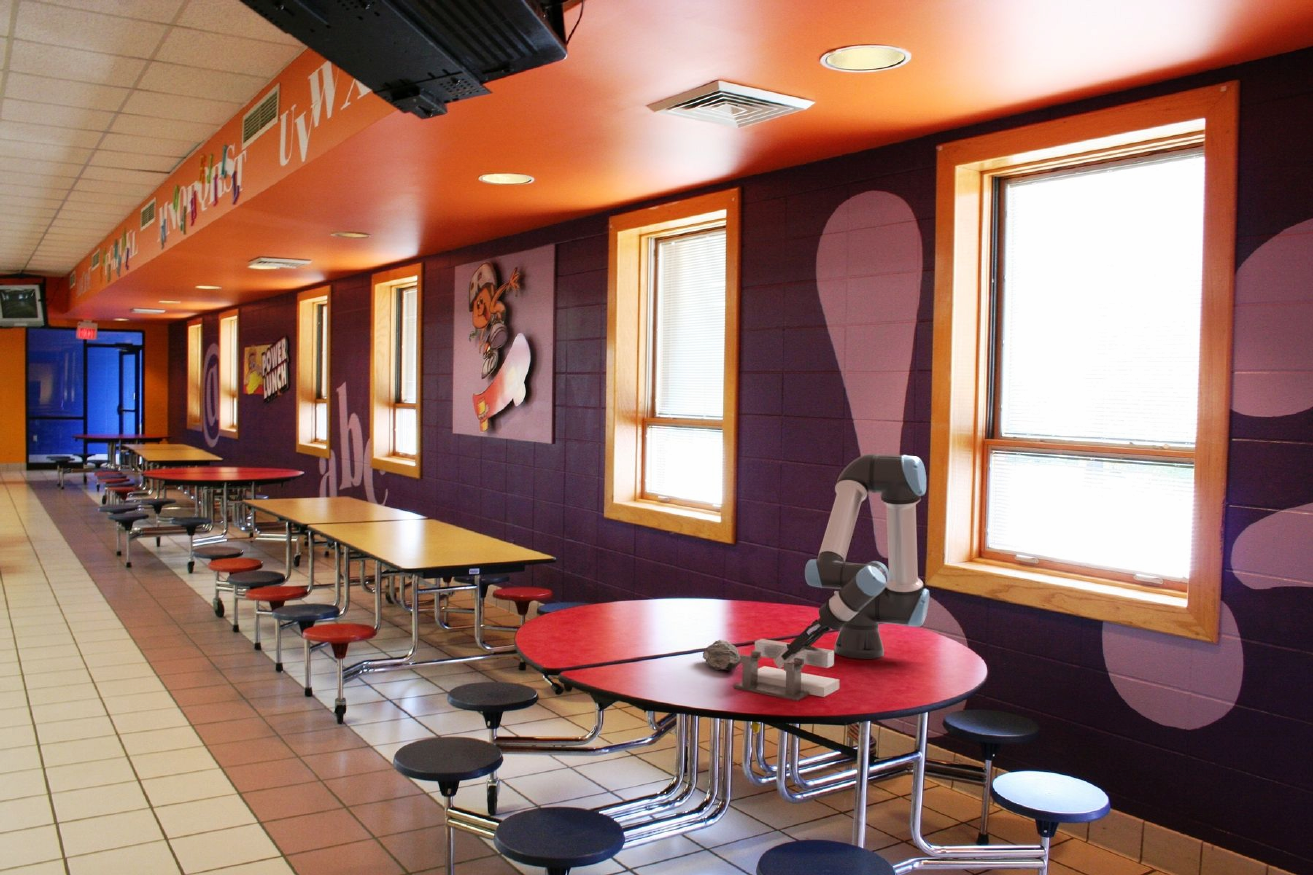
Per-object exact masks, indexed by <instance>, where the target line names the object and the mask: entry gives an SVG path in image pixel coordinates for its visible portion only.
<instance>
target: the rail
mask: <svg viewBox="0 0 1313 875" xmlns="http://www.w3.org/2000/svg"><path fill="white" fill-rule="evenodd" d="M787 644H790V642H784V641H779V640H778V641H777V640H771V639H765V638H760V639H758V640H757V639H756V640H755V641H754V651H758V652H761V657H762V658H767V659H773V660H775V659H776V658H777V657H778V656H779V655H780V654H781V653H782V652H783V651H785V650H786V649H787ZM794 658H799V659H804V665H806V666H807V665H809V666H813V667H819V668H823V669H824V668H826V669H828V668H830V667H833V666H834V665H835V649H826V648H821V647H815V646H814V647H813V646H811V647H810V646H804V647H803V648H801V649H800V650H799V651H798V652H797V653H796V655H795V656H794V657H792V658H791V659H790V660H789V662H791V663H794Z"/></svg>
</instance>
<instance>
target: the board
mask: <svg viewBox="0 0 1313 875" xmlns="http://www.w3.org/2000/svg"><path fill="white" fill-rule="evenodd" d="M757 682H761V683H766V684H771V685H776V686H782V687H786V671H784V668H780V669H779V668H778V667H777V668H776V667H770V666H765V665H763V666H762V667H758V681H757ZM839 689H840V679H839V678H838V679H837V678H832V677H826V676H821V675H815V674H809V673H805V672H801V690H803V691H808V692H809V695H813V696H817V697H822V698H824V697H826V696H828V695H830V694H833V693H834V692H836V691H837V690H839Z"/></svg>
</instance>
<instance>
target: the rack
mask: <svg viewBox="0 0 1313 875" xmlns="http://www.w3.org/2000/svg"><path fill="white" fill-rule="evenodd" d="M759 660H761V652H758V651H755V650H751V651H750V655H748V654H747V655H746V654H740V664H742V676H741V677H742V681H740V682H738V683H735V684H734V685H733V689H738V690H742V691H745V692H746V691H747V692H753V693H757V694H761V695H762V694H763V695H767V696H771V697H776V698H781V699H786V700H792V701H796V702H797V701H800V700H802V699H804V698H805V697H808V696H809V695H810V694H809V692H808V691H803V690H801V673H802V668H804V666H805V664H804V659H799V658H794V662H791V663H787V662H785V663H784V666H783V670H784V671H786V687H782V686H776V685H771V684H766V683H761V682H757V681H758V669H759Z"/></svg>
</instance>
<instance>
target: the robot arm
mask: <svg viewBox="0 0 1313 875" xmlns="http://www.w3.org/2000/svg"><path fill="white" fill-rule="evenodd" d="M925 468H926V467H925V465H924V462H923V461H922V459H921V458H920V457H919V456H914V455H907V454H875V453H870V454H864V455H861V456H859V457H857V458H856V459H854V460H853V461H851V462H850V463H849V464H848V465H846V467H845V468H844V469H843V471H841V473H840V474H839V476H838V479H837V480H836V484H835V487H834V491H835V493H836V494H835V499H834V503H833V505H832V510H831V513H830V515H829V519H828V523H827V527H826V530H825V532H824V536H823V539H822V543H821V546H820V548H819V552H818V556H817V558H814V559H813V558H812V559H809V560H808V561H807V562H806V564H805V568H804V578H805V581H806V583H807V585H808V586H810V587H815V588H821V589H833V590H834V589H836V590H834V592H833V593H834V595H833V596H832V597H830V598H829V600H827V601H826V602H824V604H822V605H821V606H820V607H819V609H818V616H819V618H818V619H817V618H816V619H814V621H812V623H811V624H810V625H807V627H806V628H805V629H804V630H803V631H801V633H800V634H799V635H798V636H796V637H795V639H793V640H792V641H791V643H790V642H789V643H790V644H787V649H786V650H785V651H783V652H782V653H781V654H780V655H779V656H778V657H777V658H776V659H773V662H774V664H775V665H776V667H777V669H782V667H783V668H784V663H785V662H787V663H792V662H789V660H790V659H791V658H792V657H794V656H795V655H796V653H797V652H798V651H799V650H800V649H801V648H803V647H804V646H810V647H812V645H814V644H815V643H816V642H817V641H818V640H819V639H821V638H822V637H823V636H824V635H825V634H826V633H827V632H829V631H830V630H833V631H839V632H838V635H837V638H836V641H835V644H834V654H836V655H839V656H842V657H845V658H849V659H859V660H862V659H863V660H869V659H870V660H871V659H879V658H882V657H884V655H885V654H884V652H885V651H884V645H883V641H882V638H881V634H880V631H879V623H880V624H881V623H882V624H889V625H896V626H897V625H898V626H905V627H921V626H922V625H923V624H924V622H925V621H926V618H927V615H928V609H929V604H930V590H929V589H927V588H924V582H923V581H922V580H921V578H919V576H918V574H919V573H918V572H919V571H918V569H919V568H918V543H917V542H918V539H917V507H916V505H917V504H919V502H921V500H922V499H921V496H925V494H926V491H927V474H926V469H925ZM869 493H870V494H871V493H873V494H880V501H881V503H883V504H884V505H885V506H886V507H885V508H886V530H887V531H886V532H887V535H886V536H887V557H888V558H887V559H888V560H887V561H888V562H887V563H888V568H887V565H885V564H884V563H882V562H881V561H877V560H873V561H869V562H867V563H858V562H846V559H847V554H848V551H849V547H850V545H851V544H850V543H851V540H852V538H853V537H852V536H853V534H854V530H855V526H856V522H857V520H858V516H859V512H860V507H861V505H862V502H863V501H865V500H866V499H867V497H868V494H869ZM837 590H838V591H837Z"/></svg>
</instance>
